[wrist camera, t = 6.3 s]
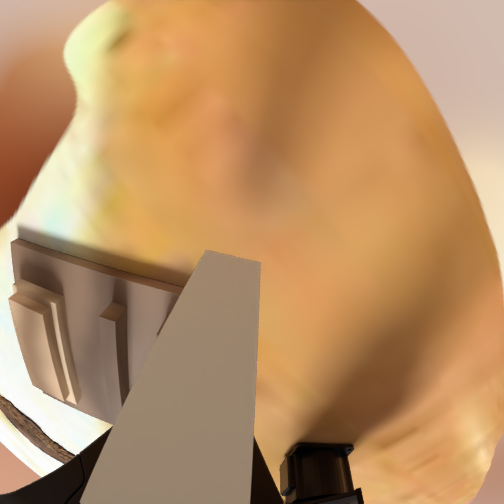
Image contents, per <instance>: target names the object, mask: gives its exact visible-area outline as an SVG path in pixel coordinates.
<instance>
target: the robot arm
mask: <svg viewBox="0 0 504 504" xmlns="http://www.w3.org/2000/svg"><path fill="white" fill-rule="evenodd" d="M112 428H113V426H112V427H111V428H110V429H109V430H107V431H106V432H105V433H104V434H102V435H101V436H100V437H99V438H97V439H96V440H95V441H94V442H92V443H91V444H90V445H89V446H87V447H86V448H85V449H84V450H82V451H81V452H80V453H79V454H80V455H79V454H77V455H76V456H74V457H73V458H72V459H71V460H69V461H68V462H66V463H65V464H64V465H62V466H61V467H59V468H58V469H56V470H55V471H53V472H51V473H49V474H48V475H46V476H44V477H42V478H40V479H38V480H37V481H34V482H32V483H30V484H29V485H26V486H24V487H22V488H20V489H18V490H16V491H13V492H10V493H7V494H0V504H81V503H80V500H81V498H82V495H83V493H84V490H85V488H86V486H87V483H88V481H89V479H90V476H91V474H92V472H93V470H94V467H95V465H96V463H97V460H98V458H99V456H100V454H101V452H102V449H103V447H104V445H105V443H106V441H107V438H108V436H109V434H110V432H111V430H112ZM353 450H354V446H353V445H335V444H309V443H299V444H297V445H296V446H295V447H294V449H293V450H292V452H291V453H290V454H289V455H288V456H287V457H286V458H285V460H284V461H283V463H282V464H281V465H280V493H279V491H278V489H277V487H276V484H275V482H274V480H273V478H272V476H271V474H270V471H269V469H268V467H267V465H266V463H265V460H264V458H263V456H262V453H261V451H260V449H259V447H258V444H257V442H256V440H255V437H254V438H253V458H252V477H251V495H250V504H283V503H284V501H283V499H282V497H281V495H282V496H286V504H364V501H363V496H362V491H361V488H357V489H356V490H354V487H353V481H352V476H351V471H350V466H349V461H348V455H349V454H350V453H351V452H352V451H353ZM280 494H281V495H280Z"/></svg>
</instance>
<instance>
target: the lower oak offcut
mask: <svg viewBox="0 0 504 504" xmlns="http://www.w3.org/2000/svg"><path fill="white" fill-rule="evenodd" d="M13 291H14V294H15V293H16V292H19V293H21V294H23V295H25V296H27V297H29V298H31V299H34V300H36V301H38V302H40V303H43V304H45V305H47V306H50V307H51V308H52V315H53V321H54V327H55V333H56V338H57V343H58V348H59V353H60V358H61V362H62V366H63V370H64V374H65V378H66V382H67V386H68V389H69V393H70V394H69V396H68V397H67V399H66V400H67V401H69V402H72V403H74V404H76V405H77V404H78V402H79V401H80V399H81V397H82V396H81V392H80V388H79V384H78V380H77V376H76V371H75V366H74V361H73V356H72V351H71V345H70V339H69V333H68V326H67V318H66V310H65V301H64V296H62V295H59V294H57V293H54V292H52V291H49V290H47V289H44V288H42V287H40V286H37V285H35V284H32V283H30V282H28V281H25V280H23V279H20V280H18V281H17V282H16V283H14V284H13Z"/></svg>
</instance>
